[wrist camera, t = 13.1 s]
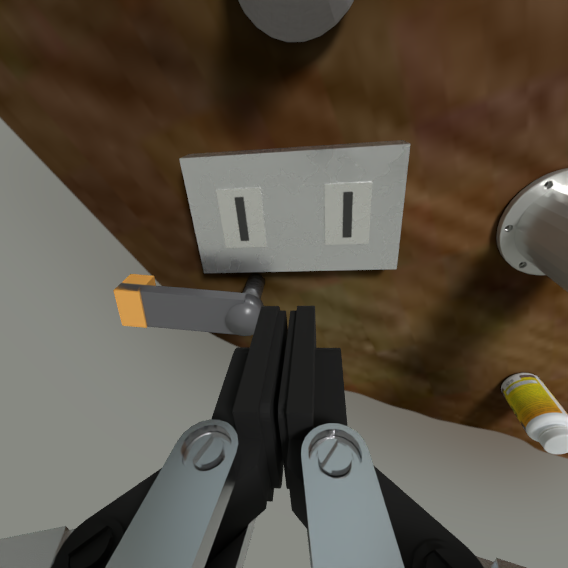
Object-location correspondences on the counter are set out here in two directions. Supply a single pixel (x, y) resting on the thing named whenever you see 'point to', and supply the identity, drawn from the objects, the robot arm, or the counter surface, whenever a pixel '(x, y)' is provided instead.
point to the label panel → (298, 207)
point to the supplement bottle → (537, 411)
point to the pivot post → (254, 285)
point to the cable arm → (185, 307)
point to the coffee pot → (295, 17)
